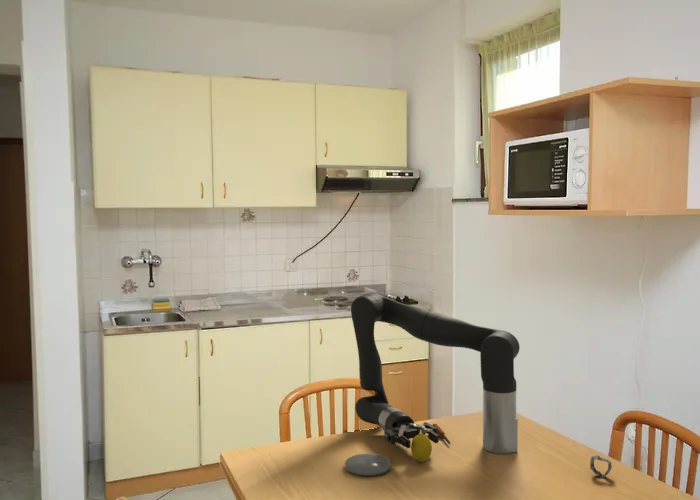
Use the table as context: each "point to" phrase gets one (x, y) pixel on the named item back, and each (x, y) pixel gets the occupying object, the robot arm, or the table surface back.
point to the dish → (368, 464)
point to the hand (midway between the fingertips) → (423, 442)
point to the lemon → (421, 447)
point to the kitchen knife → (441, 433)
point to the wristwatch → (592, 465)
